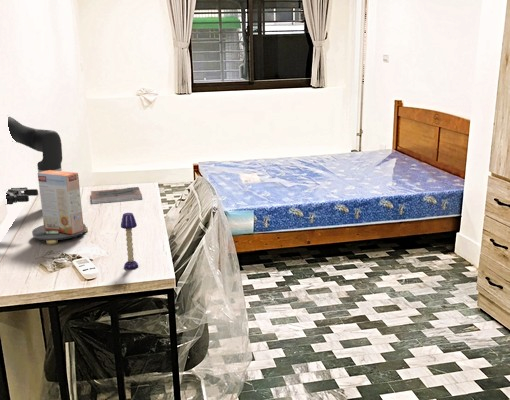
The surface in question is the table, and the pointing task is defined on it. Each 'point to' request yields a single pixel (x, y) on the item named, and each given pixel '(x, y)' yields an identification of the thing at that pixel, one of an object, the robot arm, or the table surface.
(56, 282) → the table surface
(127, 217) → the toy lamp
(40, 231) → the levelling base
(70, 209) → the cracker box
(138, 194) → the picture frame
